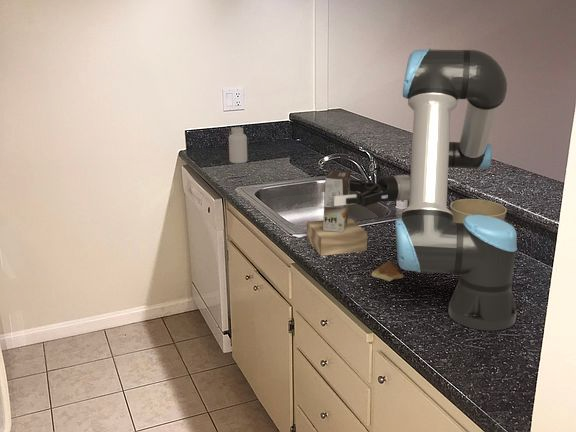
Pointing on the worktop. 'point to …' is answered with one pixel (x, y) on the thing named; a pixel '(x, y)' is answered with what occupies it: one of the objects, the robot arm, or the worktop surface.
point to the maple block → (337, 238)
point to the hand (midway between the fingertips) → (326, 194)
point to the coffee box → (333, 215)
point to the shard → (388, 271)
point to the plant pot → (476, 209)
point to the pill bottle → (237, 146)
